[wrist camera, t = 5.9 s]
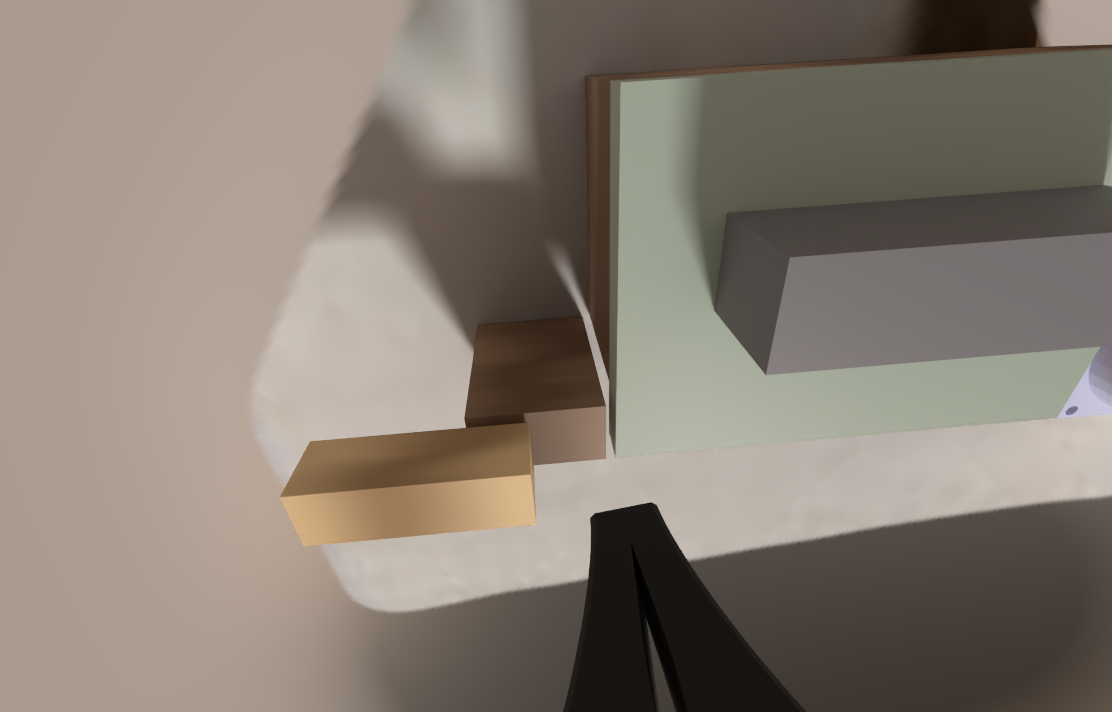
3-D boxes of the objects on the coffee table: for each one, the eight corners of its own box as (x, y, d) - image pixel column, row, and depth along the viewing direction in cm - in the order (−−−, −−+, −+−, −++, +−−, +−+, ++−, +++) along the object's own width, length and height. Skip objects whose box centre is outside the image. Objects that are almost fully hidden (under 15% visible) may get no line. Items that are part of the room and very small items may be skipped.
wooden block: (529, 422, 13) (530, 474, 12) (533, 469, 14) (536, 524, 13) (310, 441, 13) (280, 497, 12) (329, 488, 14) (304, 546, 13)
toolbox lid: (1167, 43, 12) (1552, 30, 8) (997, 379, 17) (1166, 489, 13) (603, 79, 12) (658, 89, 7) (604, 413, 17) (636, 540, 12)
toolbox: (1037, 46, 15) (1288, 39, 10) (926, 332, 20) (1057, 417, 15) (440, 85, 14) (402, 96, 9) (484, 368, 20) (474, 470, 15)
